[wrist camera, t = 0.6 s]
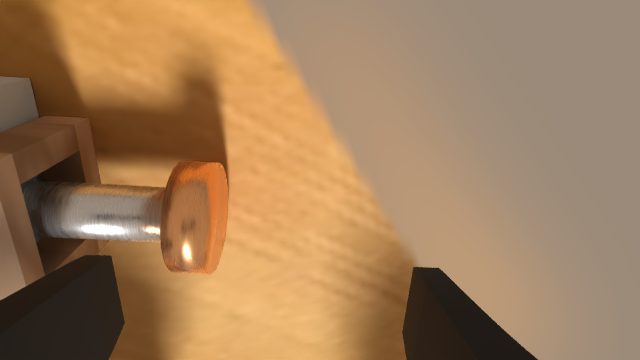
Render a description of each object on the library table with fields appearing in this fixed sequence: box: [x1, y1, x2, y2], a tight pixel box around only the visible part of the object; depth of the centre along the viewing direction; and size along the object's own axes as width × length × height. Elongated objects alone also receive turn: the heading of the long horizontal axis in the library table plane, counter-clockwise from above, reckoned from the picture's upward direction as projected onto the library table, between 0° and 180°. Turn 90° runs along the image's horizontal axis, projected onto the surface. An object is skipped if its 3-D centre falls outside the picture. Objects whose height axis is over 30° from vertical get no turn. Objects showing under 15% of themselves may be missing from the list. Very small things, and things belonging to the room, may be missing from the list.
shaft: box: [20, 161, 228, 274], centre depth 17 cm, size 11×5×5 cm, turn 87°
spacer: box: [0, 115, 109, 300], centre depth 17 cm, size 7×2×6 cm, turn 177°
